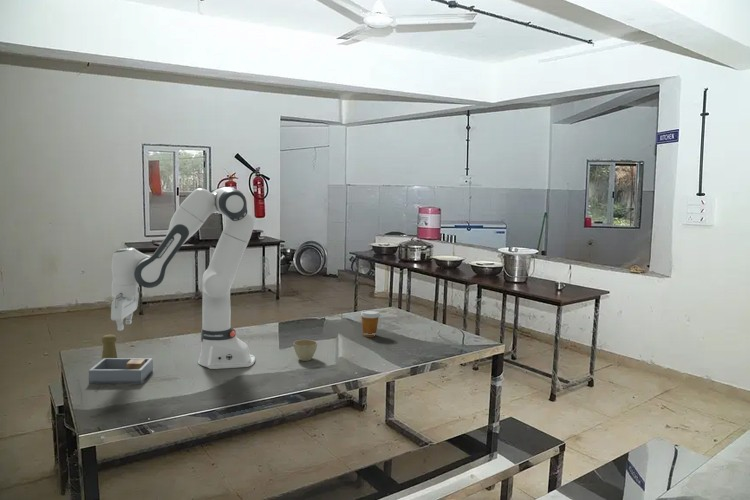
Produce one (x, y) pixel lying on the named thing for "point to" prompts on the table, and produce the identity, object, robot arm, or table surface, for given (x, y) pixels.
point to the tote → (119, 371)
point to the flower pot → (305, 349)
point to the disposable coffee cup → (369, 321)
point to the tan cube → (135, 363)
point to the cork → (109, 346)
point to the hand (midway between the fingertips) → (124, 327)
